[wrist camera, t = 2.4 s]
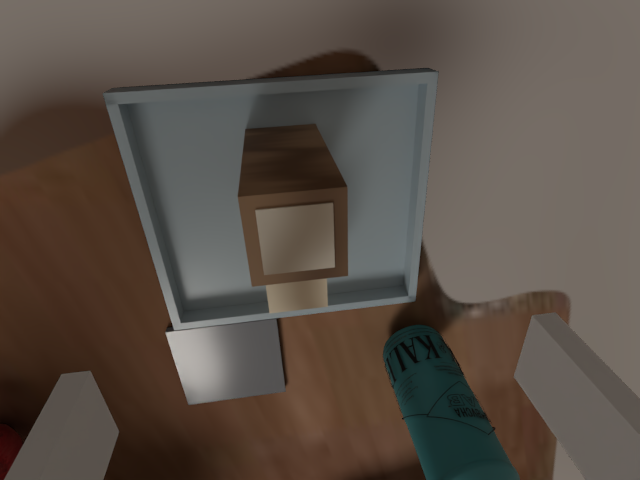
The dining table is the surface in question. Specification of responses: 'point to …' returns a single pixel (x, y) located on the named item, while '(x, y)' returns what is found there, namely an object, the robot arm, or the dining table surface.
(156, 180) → the bin
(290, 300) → the birch block
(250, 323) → the slate coaster
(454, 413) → the beverage bottle
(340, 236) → the walnut box
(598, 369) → the robot arm
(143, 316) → the dining table surface
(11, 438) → the onion
